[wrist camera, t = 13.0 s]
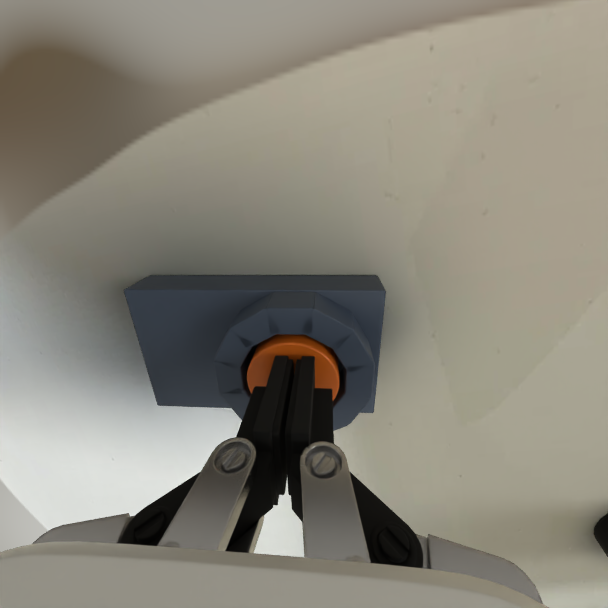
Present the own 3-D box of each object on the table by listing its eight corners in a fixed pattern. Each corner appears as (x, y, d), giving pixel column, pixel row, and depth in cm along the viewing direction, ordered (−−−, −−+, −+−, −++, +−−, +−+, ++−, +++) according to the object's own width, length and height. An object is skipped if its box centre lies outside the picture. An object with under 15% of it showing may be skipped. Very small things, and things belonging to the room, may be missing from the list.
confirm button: (259, 391, 15) (251, 417, 13) (251, 322, 13) (241, 342, 11) (336, 393, 14) (338, 420, 13) (339, 323, 13) (341, 344, 11)
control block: (176, 380, 18) (137, 432, 14) (149, 275, 15) (93, 305, 11) (368, 385, 17) (380, 442, 13) (377, 275, 14) (395, 307, 11)
